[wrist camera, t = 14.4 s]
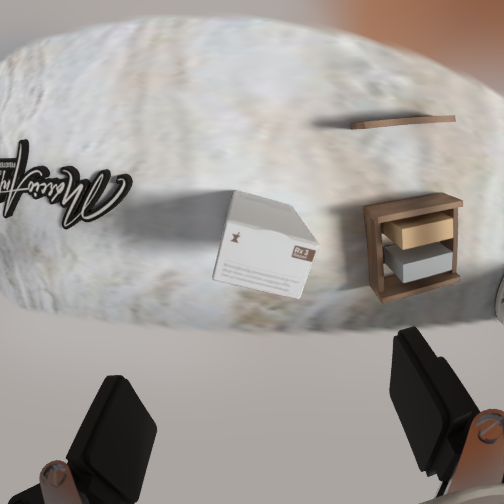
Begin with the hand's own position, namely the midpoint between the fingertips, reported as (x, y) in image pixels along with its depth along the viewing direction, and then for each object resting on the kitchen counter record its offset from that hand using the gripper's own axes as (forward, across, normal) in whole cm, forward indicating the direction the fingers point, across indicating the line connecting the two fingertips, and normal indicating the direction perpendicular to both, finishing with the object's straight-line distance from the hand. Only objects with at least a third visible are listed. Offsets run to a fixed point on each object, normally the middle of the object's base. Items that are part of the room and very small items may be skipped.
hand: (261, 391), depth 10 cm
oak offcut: (+22, -16, +3) cm, 28 cm away
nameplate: (+23, +24, -11) cm, 35 cm away
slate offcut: (+22, -16, +7) cm, 28 cm away
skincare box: (+22, 0, 0) cm, 23 cm away
